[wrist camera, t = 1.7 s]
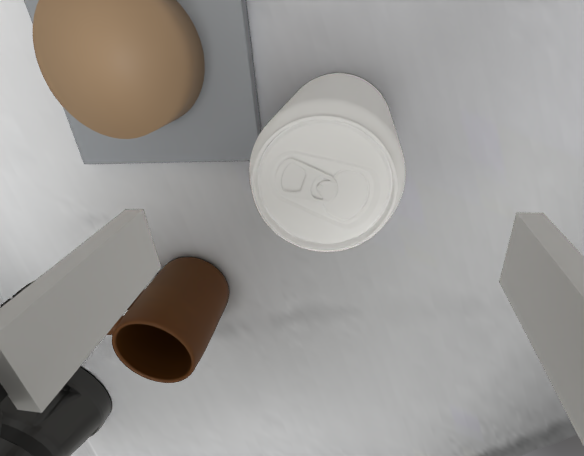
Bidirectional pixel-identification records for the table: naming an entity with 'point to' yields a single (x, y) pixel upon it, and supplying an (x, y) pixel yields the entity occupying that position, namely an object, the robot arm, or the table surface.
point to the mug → (171, 321)
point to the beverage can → (328, 165)
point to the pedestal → (151, 77)
